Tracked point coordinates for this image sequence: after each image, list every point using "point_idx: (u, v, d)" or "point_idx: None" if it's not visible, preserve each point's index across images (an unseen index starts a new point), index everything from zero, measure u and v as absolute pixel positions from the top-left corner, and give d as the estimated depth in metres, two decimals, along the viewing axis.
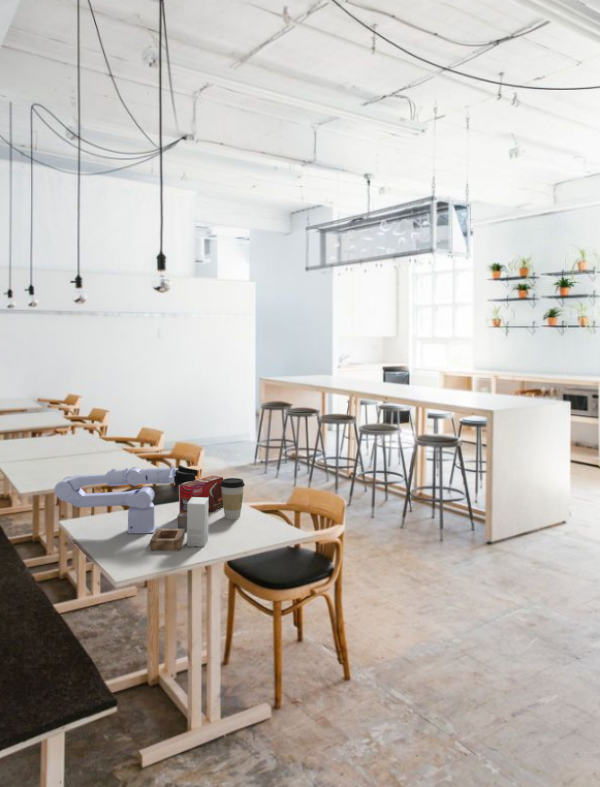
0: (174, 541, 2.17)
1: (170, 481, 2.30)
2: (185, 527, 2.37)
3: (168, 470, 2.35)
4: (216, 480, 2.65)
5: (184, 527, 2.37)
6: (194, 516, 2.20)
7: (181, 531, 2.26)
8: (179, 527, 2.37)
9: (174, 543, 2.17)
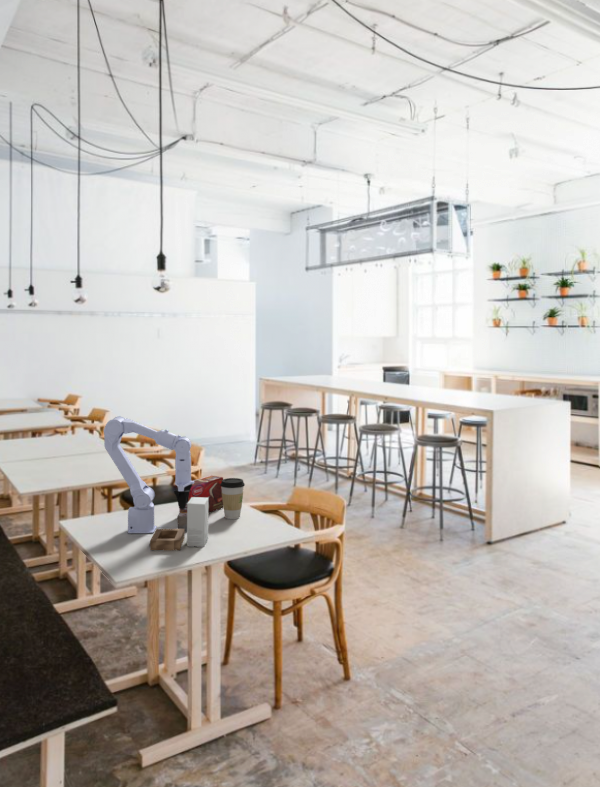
0: (174, 541, 2.17)
1: (179, 487, 2.30)
2: (185, 527, 2.37)
3: (189, 480, 2.36)
4: (216, 480, 2.65)
5: (184, 527, 2.37)
6: (194, 516, 2.20)
7: (181, 531, 2.26)
8: (179, 527, 2.37)
9: (174, 543, 2.17)
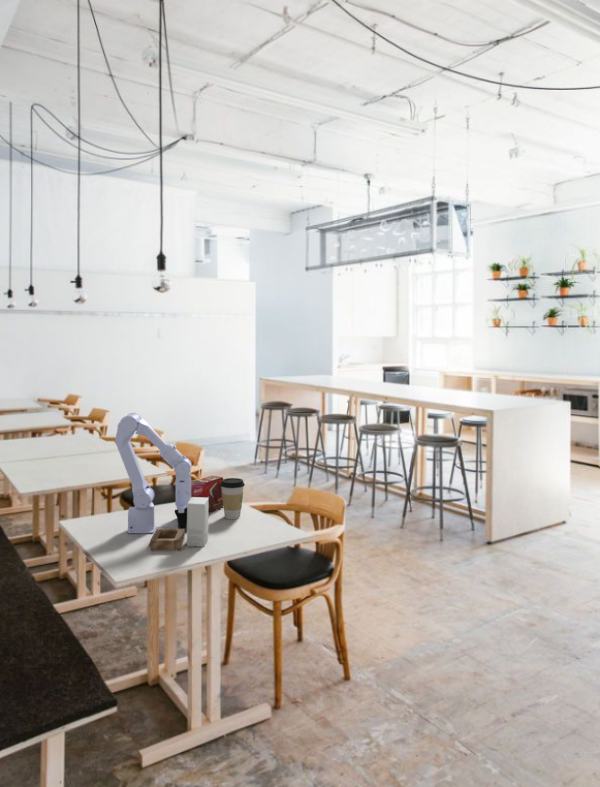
0: (174, 541, 2.17)
1: (179, 509, 2.31)
2: None
3: None
4: (216, 480, 2.65)
5: None
6: (194, 516, 2.20)
7: (181, 531, 2.26)
8: (179, 527, 2.37)
9: (174, 543, 2.17)
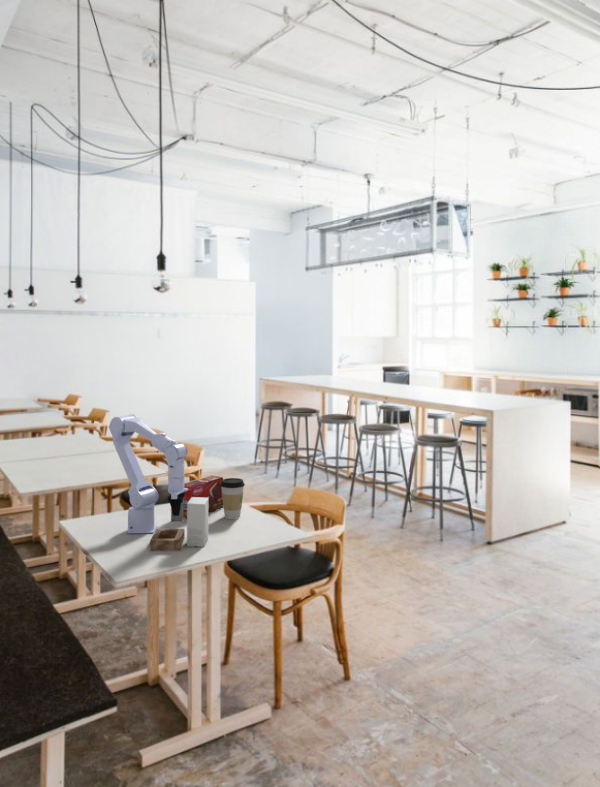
0: (174, 541, 2.17)
1: (172, 495, 2.23)
2: (179, 517, 2.29)
3: (182, 487, 2.29)
4: (216, 480, 2.65)
5: (178, 517, 2.29)
6: (194, 516, 2.20)
7: (181, 531, 2.26)
8: (173, 517, 2.29)
9: (174, 543, 2.17)
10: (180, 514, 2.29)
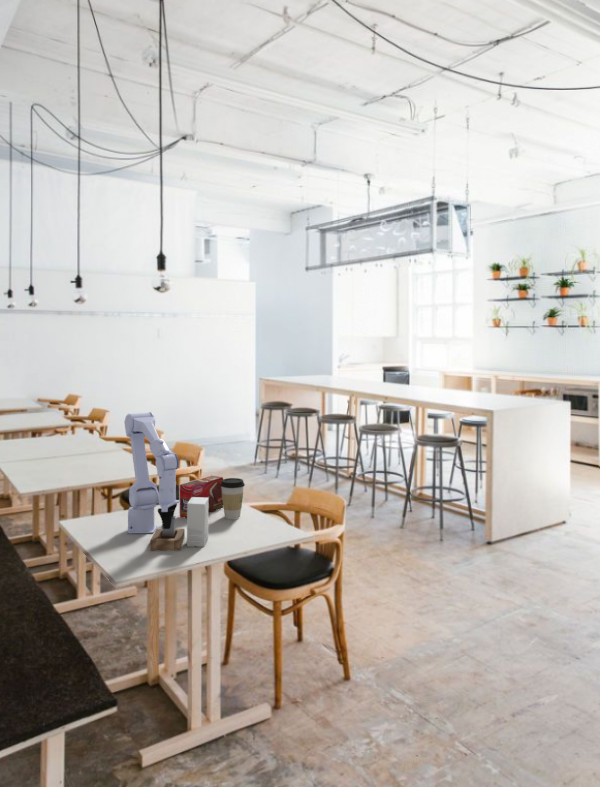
0: (174, 541, 2.17)
1: (162, 508, 2.14)
2: (170, 531, 2.21)
3: (173, 499, 2.20)
4: (216, 480, 2.65)
5: (169, 531, 2.21)
6: (194, 516, 2.20)
7: (181, 531, 2.26)
8: (164, 531, 2.21)
9: (174, 543, 2.17)
10: (172, 528, 2.21)
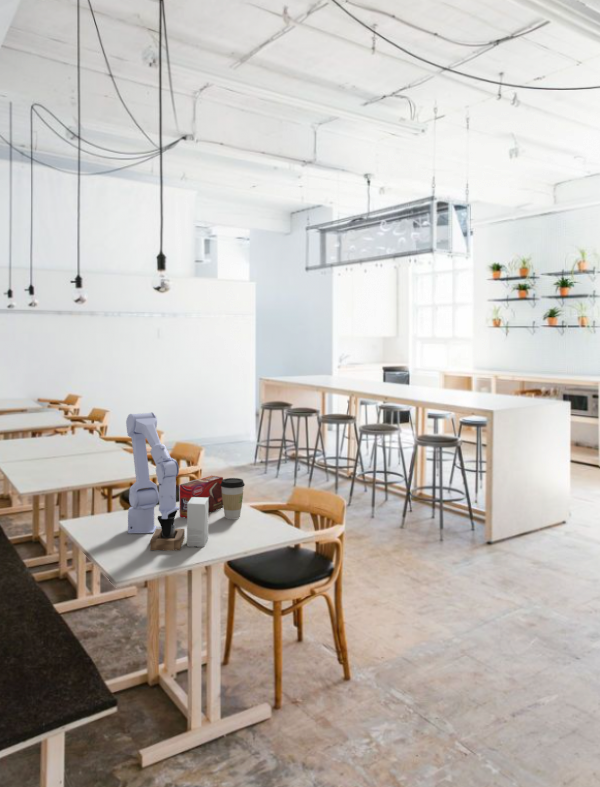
0: (174, 541, 2.17)
1: (162, 515, 2.15)
2: None
3: (173, 506, 2.20)
4: (216, 480, 2.65)
5: None
6: (194, 516, 2.20)
7: (181, 531, 2.26)
8: None
9: (174, 543, 2.17)
10: (171, 537, 2.21)
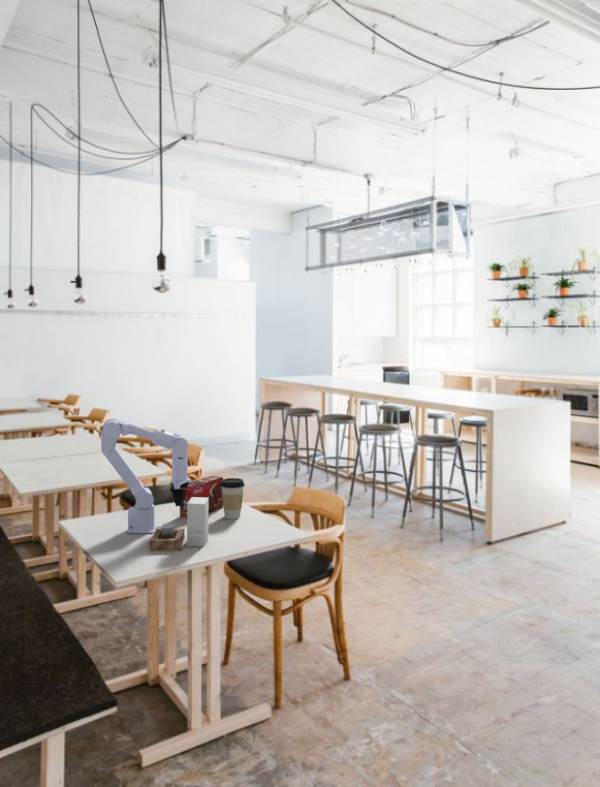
0: (174, 541, 2.17)
1: (175, 485, 2.33)
2: None
3: (185, 478, 2.39)
4: (216, 480, 2.65)
5: None
6: (194, 516, 2.20)
7: (181, 531, 2.26)
8: None
9: (174, 543, 2.17)
10: (171, 537, 2.21)
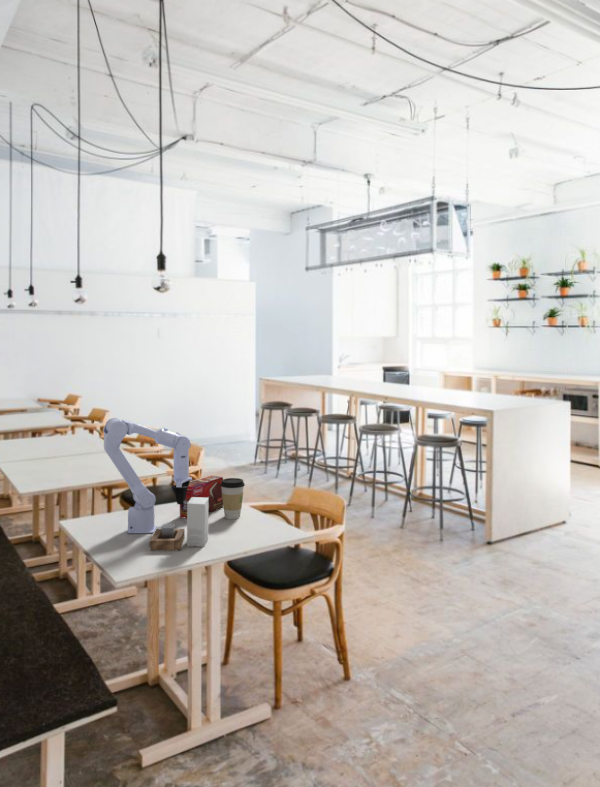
0: (174, 541, 2.17)
1: (177, 484, 2.36)
2: None
3: (186, 476, 2.42)
4: (216, 480, 2.65)
5: None
6: (194, 516, 2.20)
7: (181, 531, 2.26)
8: None
9: (174, 543, 2.17)
10: (171, 537, 2.21)
